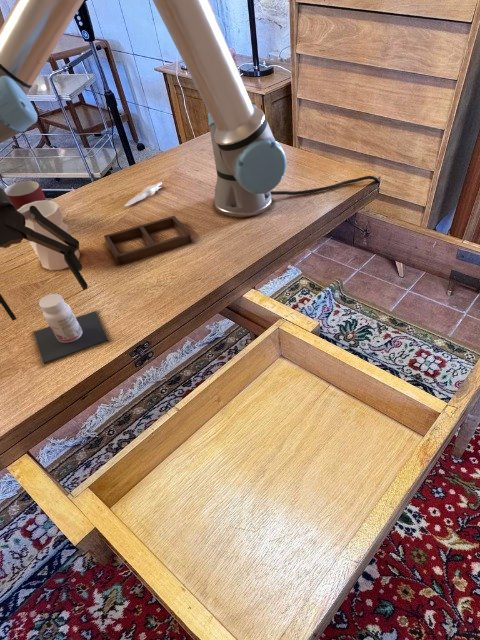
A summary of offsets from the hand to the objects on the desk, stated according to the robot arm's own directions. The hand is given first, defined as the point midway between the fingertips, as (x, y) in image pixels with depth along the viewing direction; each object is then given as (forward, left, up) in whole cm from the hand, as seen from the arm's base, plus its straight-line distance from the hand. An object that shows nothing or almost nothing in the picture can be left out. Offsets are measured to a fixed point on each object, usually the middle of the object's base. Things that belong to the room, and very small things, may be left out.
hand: (51, 302), depth 82 cm
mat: (0, +3, -7) cm, 7 cm away
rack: (-24, -22, -7) cm, 34 cm away
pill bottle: (0, +3, -6) cm, 7 cm away
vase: (-4, -26, -7) cm, 27 cm away
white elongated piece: (-31, -46, -7) cm, 55 cm away
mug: (-2, -45, -7) cm, 46 cm away
